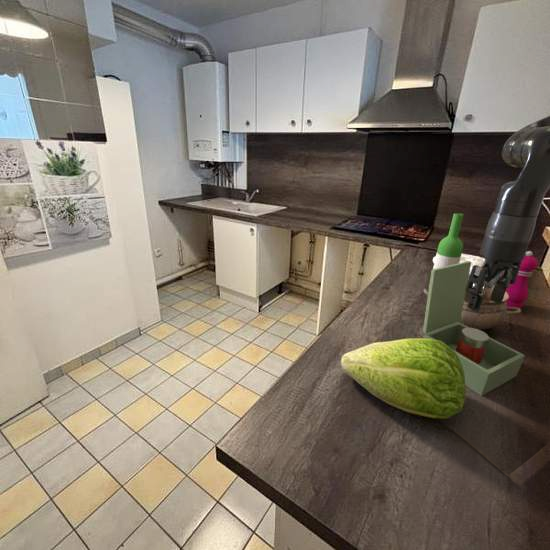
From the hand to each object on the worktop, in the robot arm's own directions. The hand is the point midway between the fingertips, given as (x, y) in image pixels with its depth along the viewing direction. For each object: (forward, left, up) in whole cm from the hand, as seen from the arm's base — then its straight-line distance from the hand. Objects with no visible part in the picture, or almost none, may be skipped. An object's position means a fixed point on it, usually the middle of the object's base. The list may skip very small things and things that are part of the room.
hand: (484, 305), depth 66 cm
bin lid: (0, -8, -2) cm, 8 cm away
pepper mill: (-46, -13, -18) cm, 51 cm away
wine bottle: (-33, -31, -18) cm, 49 cm away
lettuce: (+22, -2, -18) cm, 28 cm away
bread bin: (0, 0, -18) cm, 18 cm away
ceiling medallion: (-71, -45, -18) cm, 86 cm away
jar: (0, 0, -17) cm, 17 cm away
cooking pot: (-19, -13, -18) cm, 29 cm away
